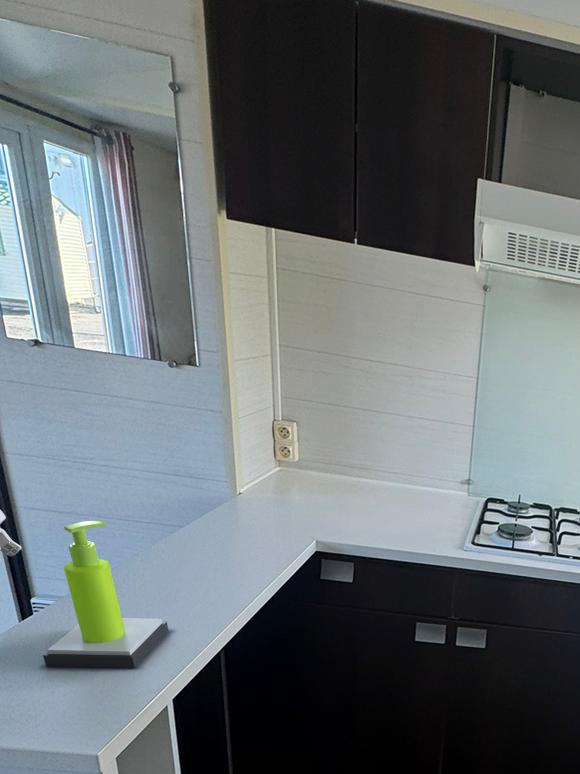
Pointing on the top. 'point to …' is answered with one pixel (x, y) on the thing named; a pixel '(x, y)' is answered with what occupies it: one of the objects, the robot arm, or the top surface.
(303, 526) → the top surface
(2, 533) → the robot arm
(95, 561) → the soap dispenser
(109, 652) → the kitchen scale
